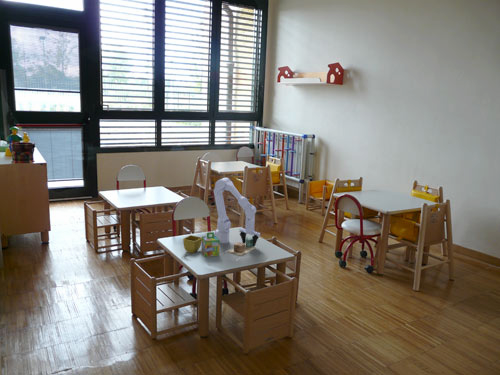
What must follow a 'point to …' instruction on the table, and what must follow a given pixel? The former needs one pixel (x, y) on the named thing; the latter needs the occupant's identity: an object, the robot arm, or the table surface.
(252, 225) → the robot arm
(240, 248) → the walnut cube
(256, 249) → the lane rails
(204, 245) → the chalk box
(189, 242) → the flower pot
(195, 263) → the table surface
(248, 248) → the wooden tray
